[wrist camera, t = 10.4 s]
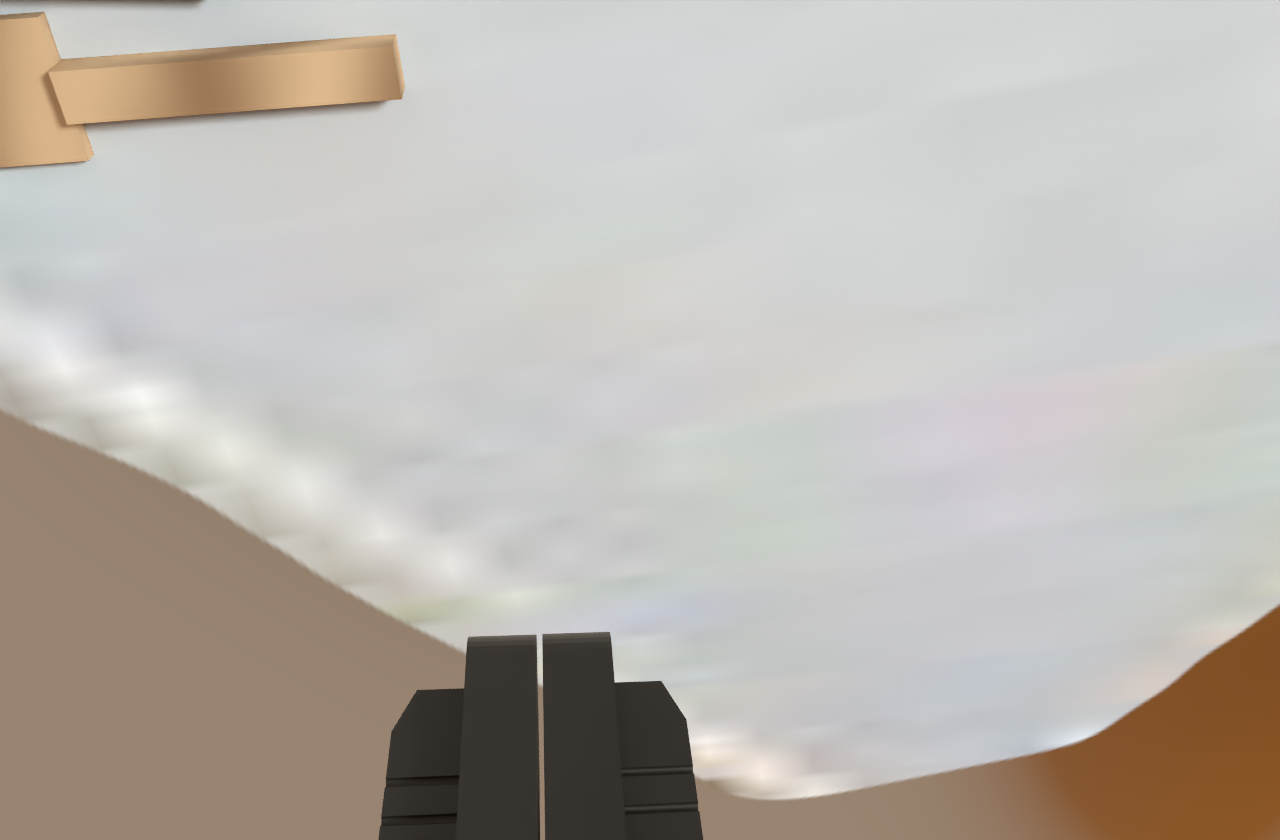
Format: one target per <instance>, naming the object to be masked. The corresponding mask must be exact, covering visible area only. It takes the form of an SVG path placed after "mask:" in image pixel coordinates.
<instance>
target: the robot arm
mask: <svg viewBox="0 0 1280 840" xmlns="http://www.w3.org/2000/svg"><path fill="white" fill-rule="evenodd" d="M543 707H544V775H545V776H544V779H545V840H703V835H702V828H701V821H700V814H699V811H698V799H697V793H696V785H695V778H694V774H693V764H692V757H691V750H690V743H689V735H688V728H687V721H686V718H685V717H684V715H683V714H682V712H681V711H680V709H679V708H678V706H677V705H676V703H675V702H674V700H673V699H672V697H671V696H670V694H669V692H668V691H667V689H666V688H665V686H664V685H663V683H662V682H661V681H648V682H620V683H614V670H613V658H612V645H611V636H610V632H593V633H562V634H543ZM539 788H540V787H539V723H538V679H537V638H536V635H511V636H480V637H468V642H467V653H466V670H465V687H464V689H437V690H417V691H416V693H415V694H414V696H413V698H412V699H411V701H410V703H409V704H408V706H407V707H406V709H405V711H404V712H403V714H402V716H401V717H400V719H399V720H398V722H397V724H396V725H395V727H394V729H393V730H392V733H391V741H390V749H389V759H388V767H387V775H386V787H385V791H384V799H383V807H382V816H381V817H382V824H381V826H380V832H379V840H540V791H539V790H540V789H539Z"/></svg>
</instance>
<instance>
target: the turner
mask: <svg viewBox="0 0 1280 840" xmlns="http://www.w3.org/2000/svg"><path fill="white" fill-rule="evenodd" d="M404 88H405V83H404V78H403V72H402V66H401V60H400V55H399V49H398V43H397V37H396V34H394V35H380V36H367V37H354V38H340V39H327V40H314V41H300V42H287V43H273V44H260V45H247V46H233V47H220V48H207V49H193V50H180V51H167V52H153V53H140V54H127V55H113V56H100V57H87V58H73V59H61V58H60V55H59V52H58V50H57V47H56V44H55V41H54V38H53V35H52V32H51V30H50V27H49V24H48V21H47V18H46V15H45V12H35V13H21V14H8V15H0V168H1V167H14V166H26V165H39V164H52V163H65V162H78V161H89V160H90V159H91V157H92V156H93V155H94V153H93V150H92V147H91V144H90V141H89V139H88V136H87V133H86V130H85V127H84V123H97V122H110V121H123V120H136V119H149V118H162V117H175V116H188V115H201V114H214V113H227V112H240V111H253V110H266V109H279V108H292V107H306V106H319V105H332V104H345V103H358V102H371V101H384V100H397V99H402V96H403V92H404Z"/></svg>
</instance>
